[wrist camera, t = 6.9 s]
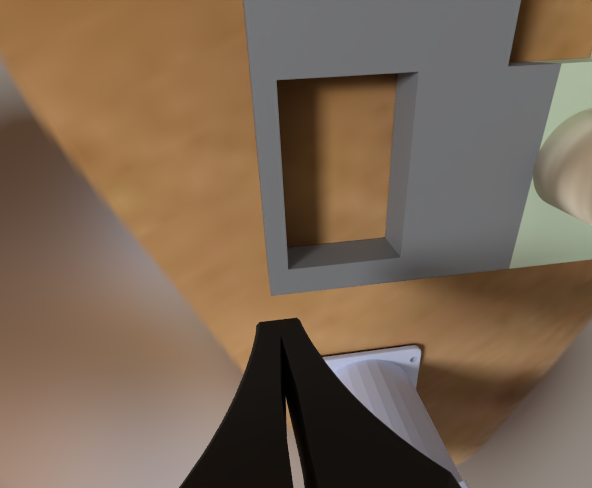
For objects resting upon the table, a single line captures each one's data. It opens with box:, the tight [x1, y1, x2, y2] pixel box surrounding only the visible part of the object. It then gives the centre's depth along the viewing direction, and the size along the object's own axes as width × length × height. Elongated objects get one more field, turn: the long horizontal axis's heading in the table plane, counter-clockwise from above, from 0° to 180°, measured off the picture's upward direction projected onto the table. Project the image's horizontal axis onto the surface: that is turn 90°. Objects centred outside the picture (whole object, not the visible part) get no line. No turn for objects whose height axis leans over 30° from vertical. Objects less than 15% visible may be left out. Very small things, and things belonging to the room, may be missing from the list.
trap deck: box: [243, 0, 592, 296], centre depth 18 cm, size 17×20×4 cm
